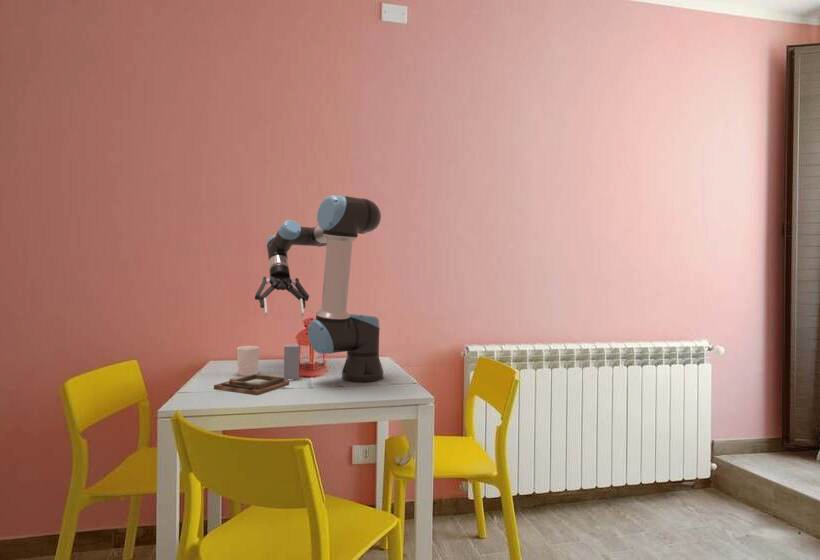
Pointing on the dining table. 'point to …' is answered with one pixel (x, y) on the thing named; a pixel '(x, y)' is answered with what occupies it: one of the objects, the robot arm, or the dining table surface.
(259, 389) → the brown wooden frame
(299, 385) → the dining table surface
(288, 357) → the block
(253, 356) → the white cup
